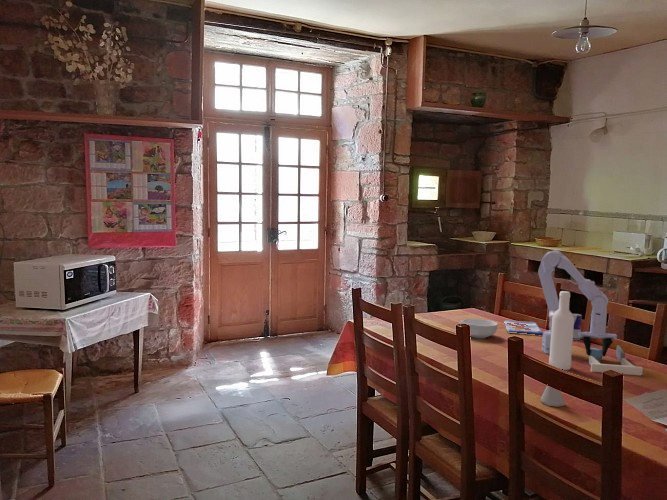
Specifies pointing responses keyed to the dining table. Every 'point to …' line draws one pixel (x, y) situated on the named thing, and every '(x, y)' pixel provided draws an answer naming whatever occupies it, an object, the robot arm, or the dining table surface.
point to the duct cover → (619, 353)
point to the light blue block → (596, 353)
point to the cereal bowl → (480, 327)
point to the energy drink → (577, 326)
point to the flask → (552, 397)
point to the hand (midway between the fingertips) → (595, 355)
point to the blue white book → (531, 325)
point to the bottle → (562, 334)
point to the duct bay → (615, 367)
